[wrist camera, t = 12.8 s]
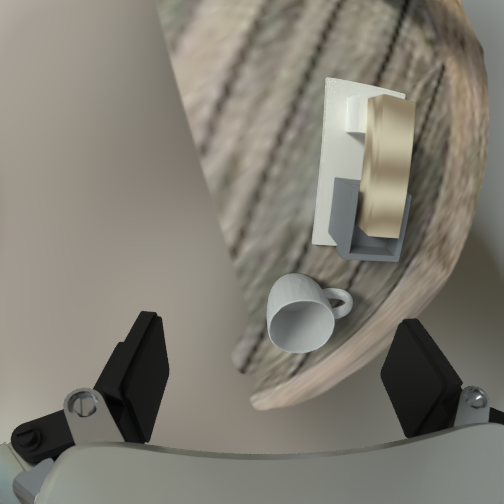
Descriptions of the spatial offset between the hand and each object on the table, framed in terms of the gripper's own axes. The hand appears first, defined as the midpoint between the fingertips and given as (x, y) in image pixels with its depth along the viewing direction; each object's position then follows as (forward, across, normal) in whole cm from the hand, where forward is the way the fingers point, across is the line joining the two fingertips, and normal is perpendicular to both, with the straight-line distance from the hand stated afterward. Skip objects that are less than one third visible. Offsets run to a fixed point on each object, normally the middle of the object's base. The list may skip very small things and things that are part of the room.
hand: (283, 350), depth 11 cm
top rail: (+26, -14, -6) cm, 30 cm away
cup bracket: (+32, -14, -6) cm, 36 cm away
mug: (+33, -8, +15) cm, 37 cm away
